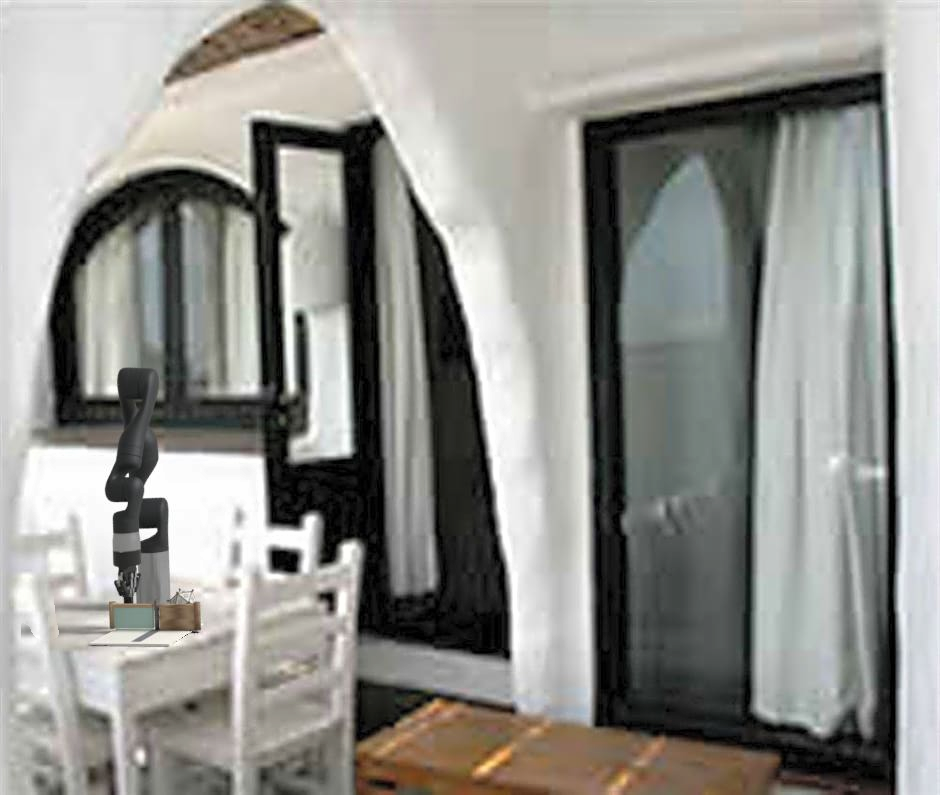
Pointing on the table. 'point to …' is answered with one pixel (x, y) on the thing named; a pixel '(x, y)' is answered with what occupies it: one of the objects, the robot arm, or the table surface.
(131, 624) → the tan and green panel
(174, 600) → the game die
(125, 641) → the board
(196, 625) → the fixed fence section
